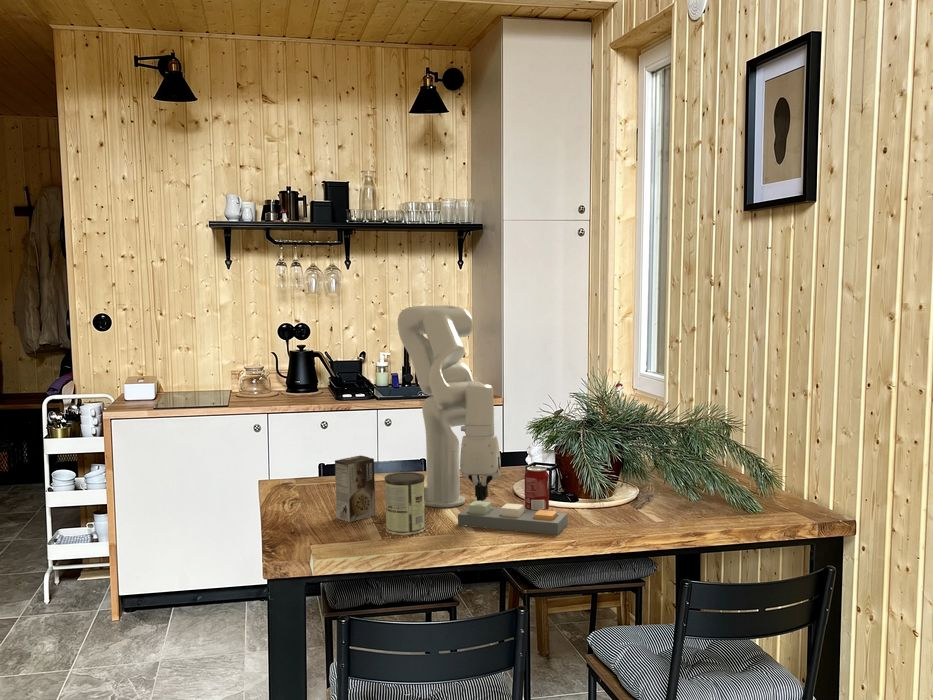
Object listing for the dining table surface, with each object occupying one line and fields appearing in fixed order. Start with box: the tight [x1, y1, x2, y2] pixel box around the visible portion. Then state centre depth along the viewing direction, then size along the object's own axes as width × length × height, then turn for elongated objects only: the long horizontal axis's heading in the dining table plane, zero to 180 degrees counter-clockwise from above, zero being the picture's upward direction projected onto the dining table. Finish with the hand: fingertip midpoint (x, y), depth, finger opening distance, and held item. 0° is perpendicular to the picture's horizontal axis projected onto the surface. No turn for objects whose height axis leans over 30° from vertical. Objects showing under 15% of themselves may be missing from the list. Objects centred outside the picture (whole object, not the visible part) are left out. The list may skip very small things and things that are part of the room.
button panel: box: [457, 506, 568, 536], centre depth 232 cm, size 27×10×3 cm, turn 70°
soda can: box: [524, 465, 550, 511], centre depth 246 cm, size 7×7×12 cm
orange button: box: [534, 510, 558, 520], centre depth 229 cm, size 5×5×2 cm
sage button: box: [468, 500, 493, 515], centre depth 235 cm, size 5×5×2 cm
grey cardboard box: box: [334, 455, 377, 523], centre depth 241 cm, size 9×6×16 cm
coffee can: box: [384, 471, 426, 535], centre depth 228 cm, size 10×10×14 cm
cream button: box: [500, 502, 525, 517], centre depth 232 cm, size 5×5×2 cm
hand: (481, 499), depth 234 cm, fingers closed
